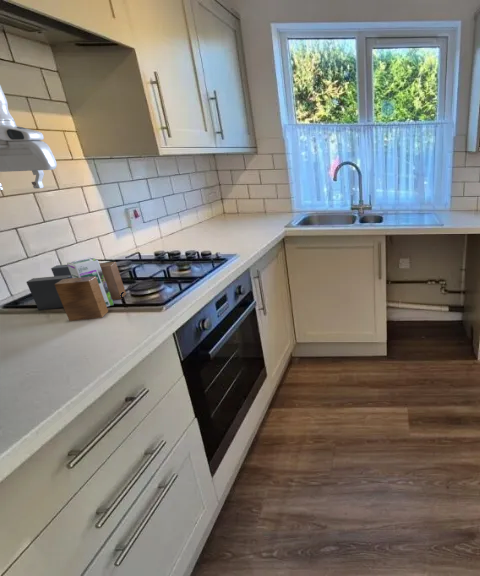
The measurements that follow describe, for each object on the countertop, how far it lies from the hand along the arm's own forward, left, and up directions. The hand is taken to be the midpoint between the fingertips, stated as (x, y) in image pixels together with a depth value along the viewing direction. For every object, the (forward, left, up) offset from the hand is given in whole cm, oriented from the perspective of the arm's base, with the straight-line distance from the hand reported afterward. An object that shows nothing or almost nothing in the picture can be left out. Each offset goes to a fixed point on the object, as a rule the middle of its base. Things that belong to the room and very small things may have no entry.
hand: (18, 189), depth 97 cm
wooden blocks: (+12, -6, -34) cm, 37 cm away
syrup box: (+12, -6, -34) cm, 37 cm away
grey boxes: (0, +4, -34) cm, 34 cm away
